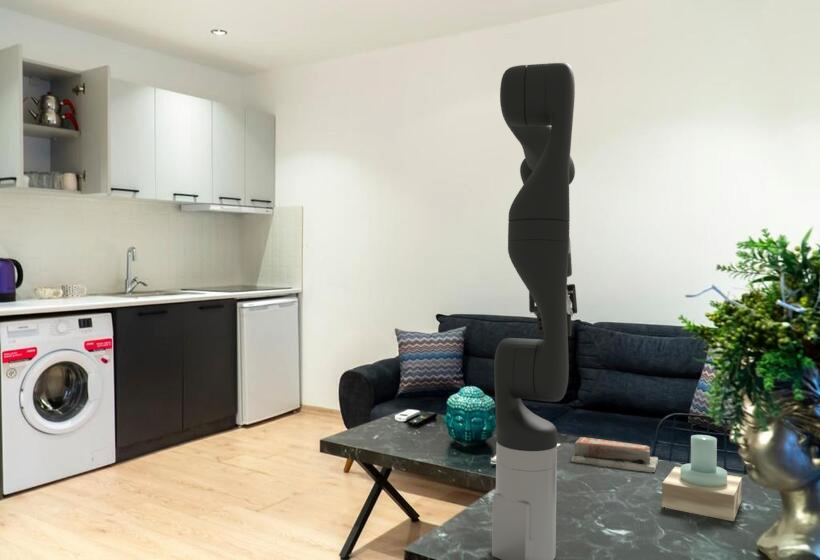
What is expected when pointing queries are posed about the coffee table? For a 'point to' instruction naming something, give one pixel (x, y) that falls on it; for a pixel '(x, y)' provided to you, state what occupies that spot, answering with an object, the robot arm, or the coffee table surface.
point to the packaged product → (614, 454)
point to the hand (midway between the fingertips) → (555, 336)
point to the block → (702, 496)
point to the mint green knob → (703, 464)
